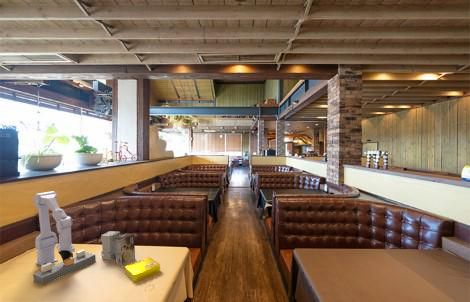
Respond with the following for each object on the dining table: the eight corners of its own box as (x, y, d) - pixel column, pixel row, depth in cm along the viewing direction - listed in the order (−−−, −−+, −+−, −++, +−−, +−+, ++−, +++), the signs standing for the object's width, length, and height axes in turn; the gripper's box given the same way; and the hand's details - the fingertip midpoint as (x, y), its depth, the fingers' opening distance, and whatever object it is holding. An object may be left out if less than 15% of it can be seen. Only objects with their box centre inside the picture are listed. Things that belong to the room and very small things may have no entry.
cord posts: (43, 272, 133) (42, 263, 133) (72, 260, 147) (72, 252, 147) (44, 273, 132) (44, 264, 132) (73, 260, 146) (73, 252, 146)
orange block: (64, 265, 133) (64, 260, 133) (71, 262, 137) (71, 257, 137) (66, 266, 132) (66, 260, 132) (74, 262, 136) (74, 257, 136)
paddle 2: (76, 257, 144) (75, 252, 144) (82, 254, 147) (82, 249, 147) (78, 257, 142) (78, 252, 142) (85, 254, 146) (85, 250, 146)
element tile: (149, 263, 142) (149, 255, 142) (161, 272, 131) (161, 263, 131) (124, 273, 131) (123, 265, 131) (134, 283, 121) (134, 274, 121)
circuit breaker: (121, 260, 147) (120, 236, 146) (101, 258, 150) (100, 235, 149) (129, 254, 154) (128, 232, 154) (110, 253, 157) (109, 231, 157)
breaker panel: (33, 281, 125) (33, 274, 125) (86, 258, 150) (86, 252, 150) (42, 285, 121) (42, 277, 121) (95, 261, 147) (95, 254, 146)
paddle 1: (41, 271, 127) (41, 265, 127) (49, 267, 131) (49, 262, 131) (43, 272, 126) (43, 266, 126) (52, 268, 130) (52, 263, 130)
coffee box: (129, 257, 150) (128, 232, 150) (135, 259, 147) (134, 234, 147) (115, 263, 142) (114, 237, 142) (121, 266, 139) (120, 239, 139)
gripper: (50, 239, 135) (51, 263, 136) (64, 243, 129) (65, 268, 129) (63, 235, 142) (64, 257, 142) (78, 238, 135) (79, 262, 136)
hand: (66, 262), depth 136 cm, fingers closed
